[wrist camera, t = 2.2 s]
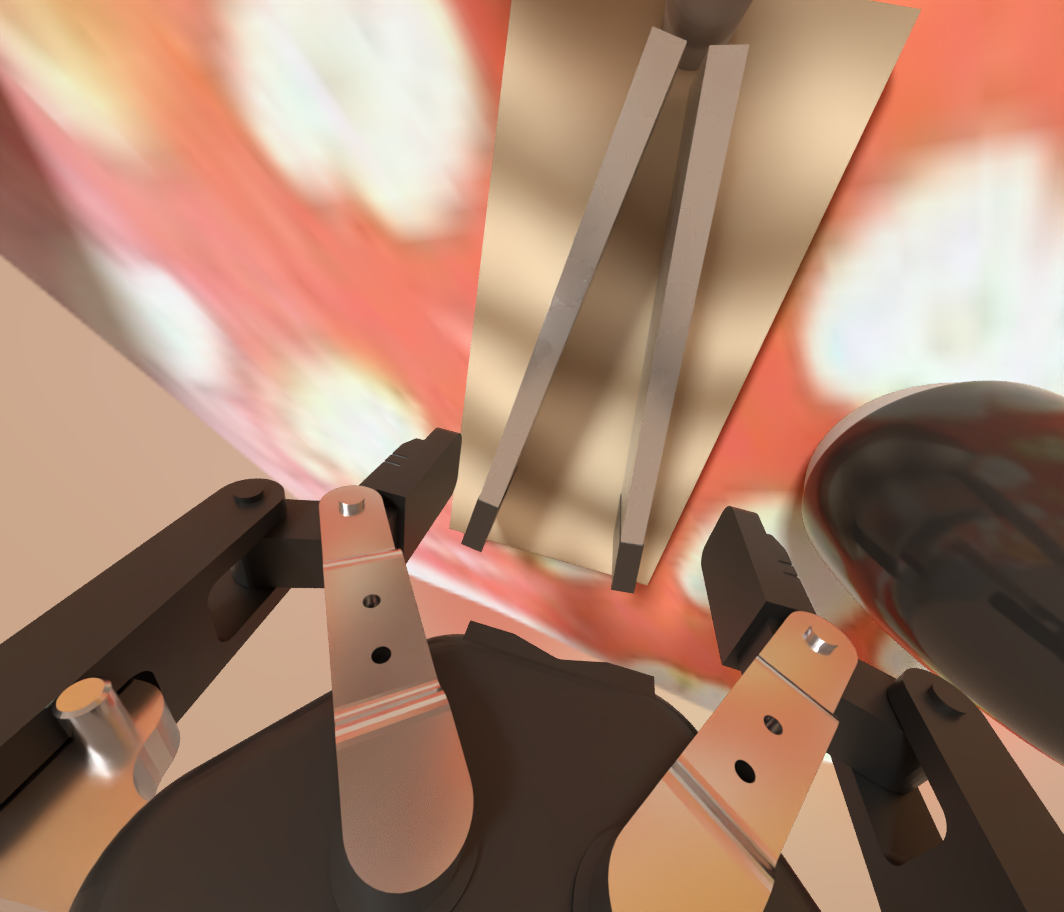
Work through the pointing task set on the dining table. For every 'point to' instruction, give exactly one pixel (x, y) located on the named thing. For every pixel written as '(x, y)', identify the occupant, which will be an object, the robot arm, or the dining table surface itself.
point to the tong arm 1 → (581, 266)
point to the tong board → (648, 242)
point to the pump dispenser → (956, 538)
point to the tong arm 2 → (676, 292)
